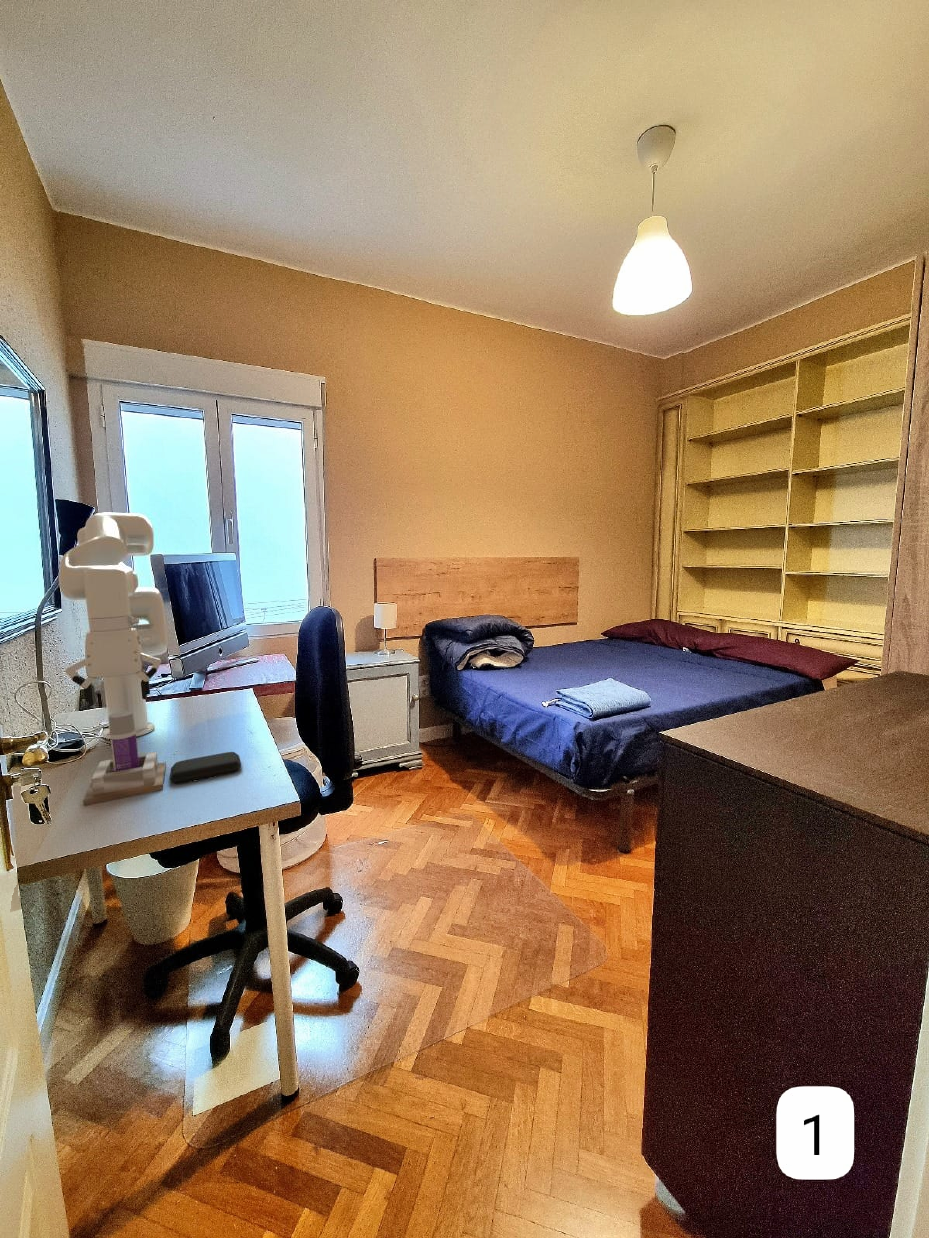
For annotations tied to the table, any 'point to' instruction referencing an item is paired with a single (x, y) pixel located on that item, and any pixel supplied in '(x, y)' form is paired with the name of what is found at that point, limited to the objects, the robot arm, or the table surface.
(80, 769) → the table surface
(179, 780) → the carrying case or bag
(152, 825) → the table surface
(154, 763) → the mount
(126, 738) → the container
